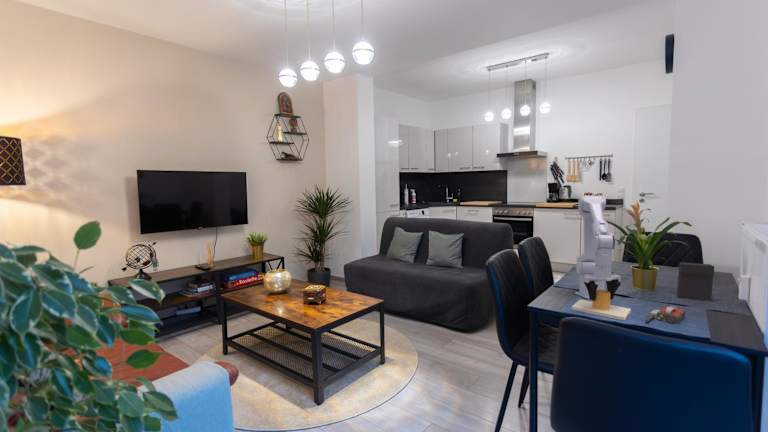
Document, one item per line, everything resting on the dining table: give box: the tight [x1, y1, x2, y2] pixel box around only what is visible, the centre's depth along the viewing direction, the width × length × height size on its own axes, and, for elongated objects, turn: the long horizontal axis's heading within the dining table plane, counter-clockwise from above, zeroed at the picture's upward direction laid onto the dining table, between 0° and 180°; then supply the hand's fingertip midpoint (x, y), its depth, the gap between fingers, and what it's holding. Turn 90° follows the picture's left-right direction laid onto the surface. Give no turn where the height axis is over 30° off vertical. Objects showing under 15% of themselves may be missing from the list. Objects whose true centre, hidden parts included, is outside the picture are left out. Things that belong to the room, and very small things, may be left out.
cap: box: [592, 289, 611, 310], centre depth 147 cm, size 6×6×6 cm
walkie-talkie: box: [644, 305, 686, 325], centre depth 138 cm, size 9×4×20 cm
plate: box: [570, 299, 632, 322], centre depth 148 cm, size 18×12×5 cm, turn 48°
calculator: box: [676, 262, 715, 301], centre depth 161 cm, size 11×4×15 cm, turn 65°
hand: (601, 299), depth 147 cm, fingers open, 7 cm apart
